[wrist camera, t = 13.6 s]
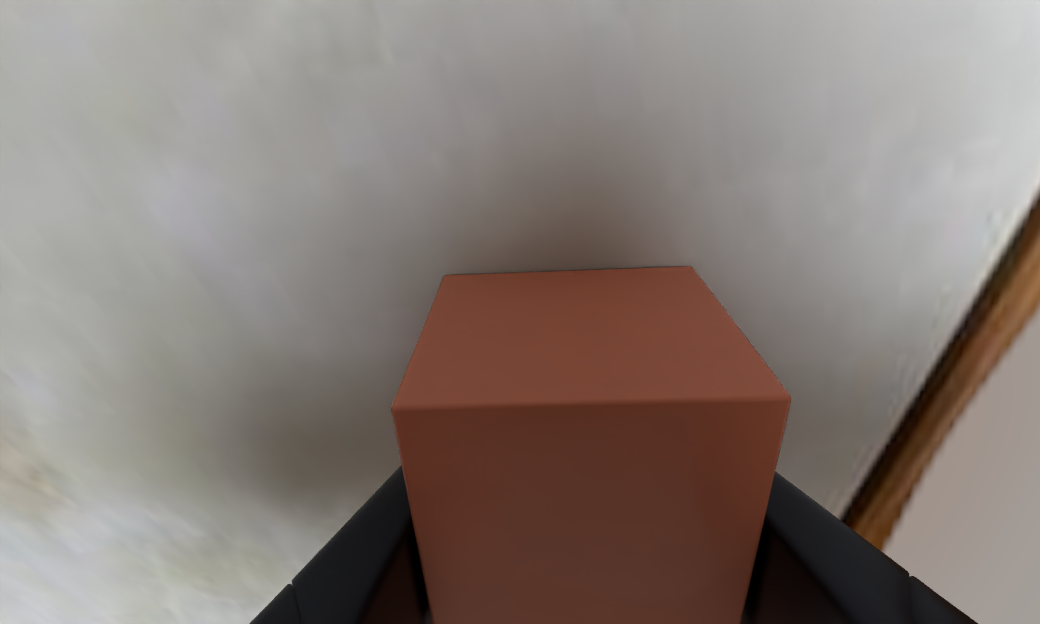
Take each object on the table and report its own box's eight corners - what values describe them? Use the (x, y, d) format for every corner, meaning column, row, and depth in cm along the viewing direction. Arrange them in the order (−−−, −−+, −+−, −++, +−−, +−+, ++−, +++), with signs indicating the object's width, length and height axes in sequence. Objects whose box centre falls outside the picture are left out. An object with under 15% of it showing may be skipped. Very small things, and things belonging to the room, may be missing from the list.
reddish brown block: (666, 508, 12) (724, 703, 8) (472, 511, 12) (447, 704, 8) (692, 265, 9) (794, 396, 6) (443, 274, 9) (389, 407, 6)
